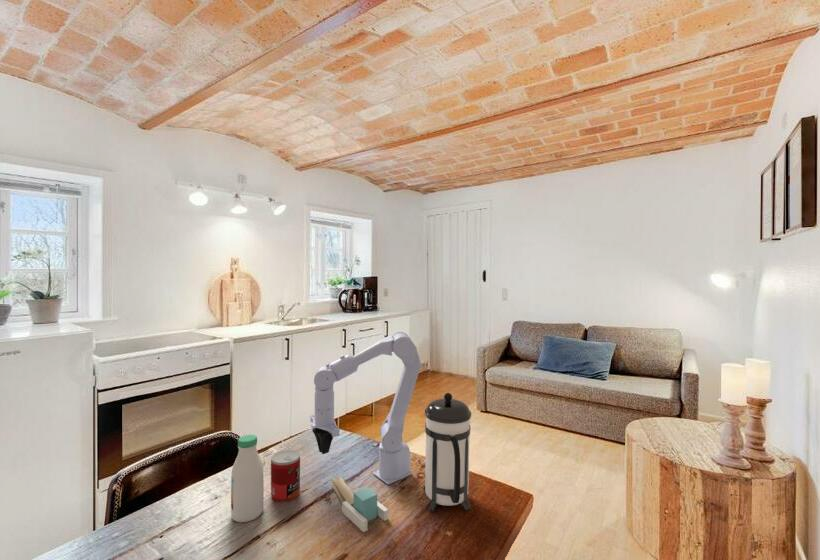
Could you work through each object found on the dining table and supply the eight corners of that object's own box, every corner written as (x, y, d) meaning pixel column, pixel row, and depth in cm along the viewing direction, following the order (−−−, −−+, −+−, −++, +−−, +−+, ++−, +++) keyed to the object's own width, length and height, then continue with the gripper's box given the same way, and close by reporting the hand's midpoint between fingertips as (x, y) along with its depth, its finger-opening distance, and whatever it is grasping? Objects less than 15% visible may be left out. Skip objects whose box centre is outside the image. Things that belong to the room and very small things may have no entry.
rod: (340, 485, 113) (340, 476, 113) (358, 511, 101) (358, 501, 101) (332, 487, 112) (332, 478, 112) (349, 514, 100) (349, 504, 100)
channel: (366, 500, 105) (366, 491, 105) (388, 519, 98) (388, 509, 98) (341, 511, 100) (342, 502, 100) (363, 532, 93) (363, 522, 93)
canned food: (291, 504, 103) (291, 464, 103) (265, 500, 105) (265, 461, 105) (304, 488, 111) (305, 451, 111) (279, 485, 112) (280, 448, 112)
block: (367, 508, 102) (367, 486, 102) (377, 516, 99) (377, 494, 99) (353, 515, 99) (353, 492, 99) (362, 524, 96) (362, 500, 96)
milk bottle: (269, 508, 102) (269, 434, 101) (248, 526, 94) (248, 446, 94) (246, 501, 104) (246, 429, 104) (224, 519, 97) (224, 441, 96)
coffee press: (406, 501, 105) (407, 393, 104) (441, 478, 117) (443, 381, 116) (457, 531, 93) (459, 410, 93) (491, 502, 105) (493, 395, 104)
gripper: (301, 403, 118) (301, 447, 118) (323, 418, 107) (323, 465, 107) (322, 398, 123) (321, 440, 123) (345, 412, 112) (345, 458, 112)
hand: (324, 452), depth 116 cm, fingers closed
